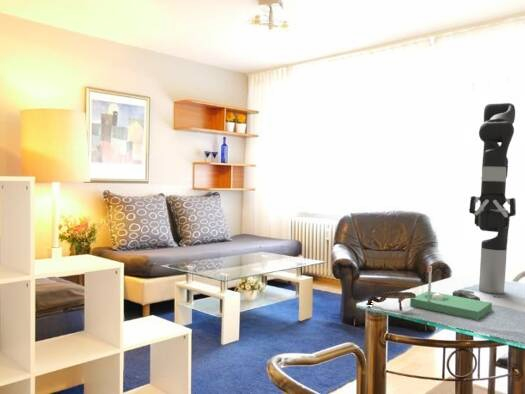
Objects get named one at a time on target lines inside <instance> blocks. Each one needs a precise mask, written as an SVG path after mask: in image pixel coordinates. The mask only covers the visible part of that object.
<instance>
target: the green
mask: <svg viewBox="0 0 525 394" xmlns="http://www.w3.org/2000/svg"><path fill="white" fill-rule="evenodd" d="M436 293H438V294H441V295H442V296H443V300H436V299H431V298H432V296H433V295H434V294H436ZM452 295H453V294H452ZM452 295H450V294H445V293H439V292H434V291H431V295H430V302H429V301H428V290H427V291H425V292H423V293H420V294H418V295H416V298H409V299H410V303H409V306H410V307H414V308H415V307H416V308H420V309H426V310H430V311H434V312H440V313H444V314H450V315H453V316H459V317H462V318H463V317H464V318H469V319H473V320H479V319H481V318H482V317H484V316H485V315H487V314H488V313H490V312H491V311H492V310H493V309H492V308H493V304H492V302H489V301H483V300H480V301H479V300H474V299H468V298H463V297H457V296H452Z"/></svg>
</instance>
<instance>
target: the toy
mask: <svg viewBox="0 0 525 394" xmlns="http://www.w3.org/2000/svg"><path fill="white" fill-rule="evenodd" d="M379 296H380V298H377V297H376V296H371V297H369V298H368V299H367V301H368V302H367V303H366V306H367V305H372V304H371V303H373V304H374V303H383V302H384V301H386V300H387V299H397V303H399V304H398V308H399V310H400V311H403V307H402V302H403V301H405V299H411V298H416V296H417V295H416V293H414V292H412V291H411V292H410V291H397V290H396V291H388V292H385V293H380V295H379Z"/></svg>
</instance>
